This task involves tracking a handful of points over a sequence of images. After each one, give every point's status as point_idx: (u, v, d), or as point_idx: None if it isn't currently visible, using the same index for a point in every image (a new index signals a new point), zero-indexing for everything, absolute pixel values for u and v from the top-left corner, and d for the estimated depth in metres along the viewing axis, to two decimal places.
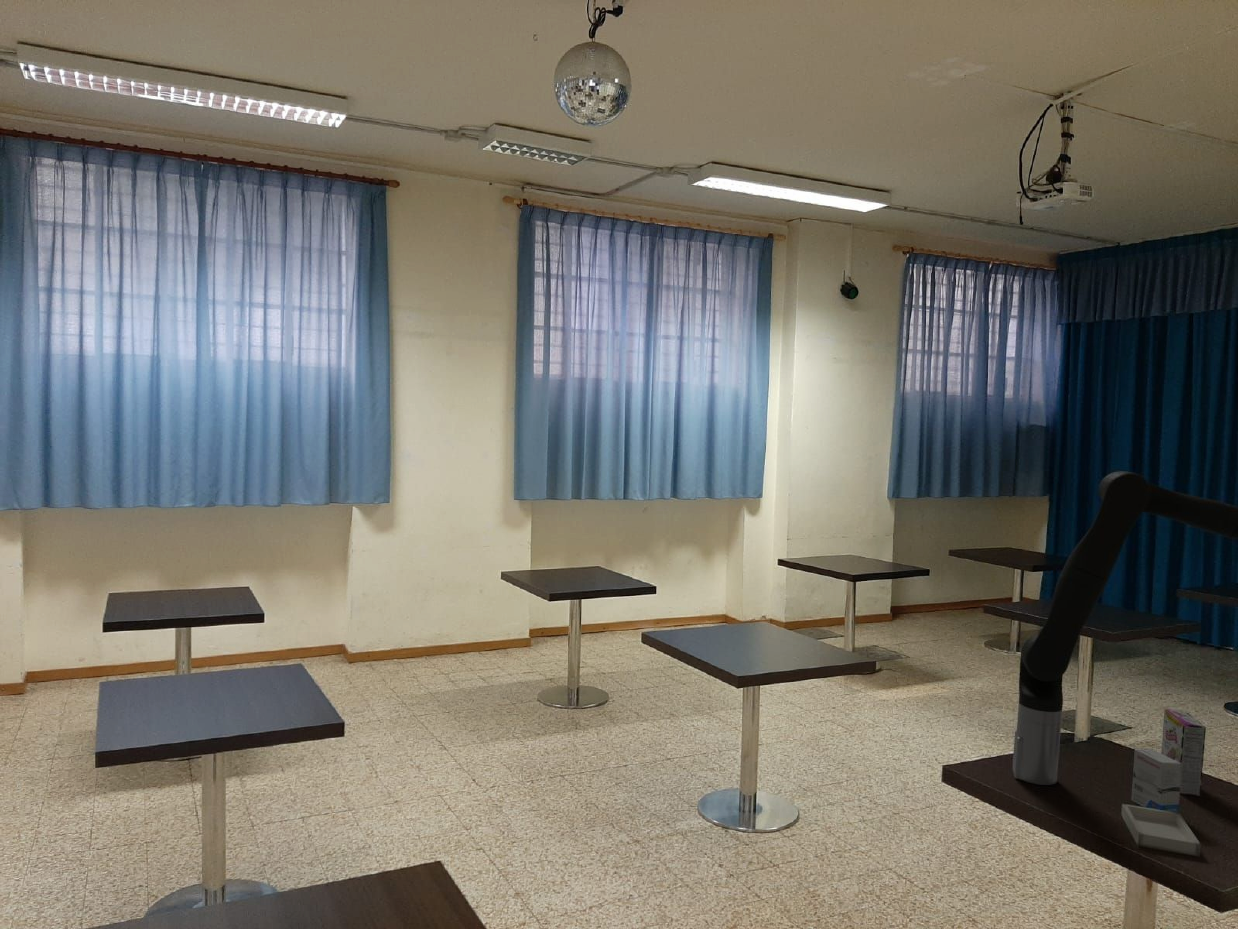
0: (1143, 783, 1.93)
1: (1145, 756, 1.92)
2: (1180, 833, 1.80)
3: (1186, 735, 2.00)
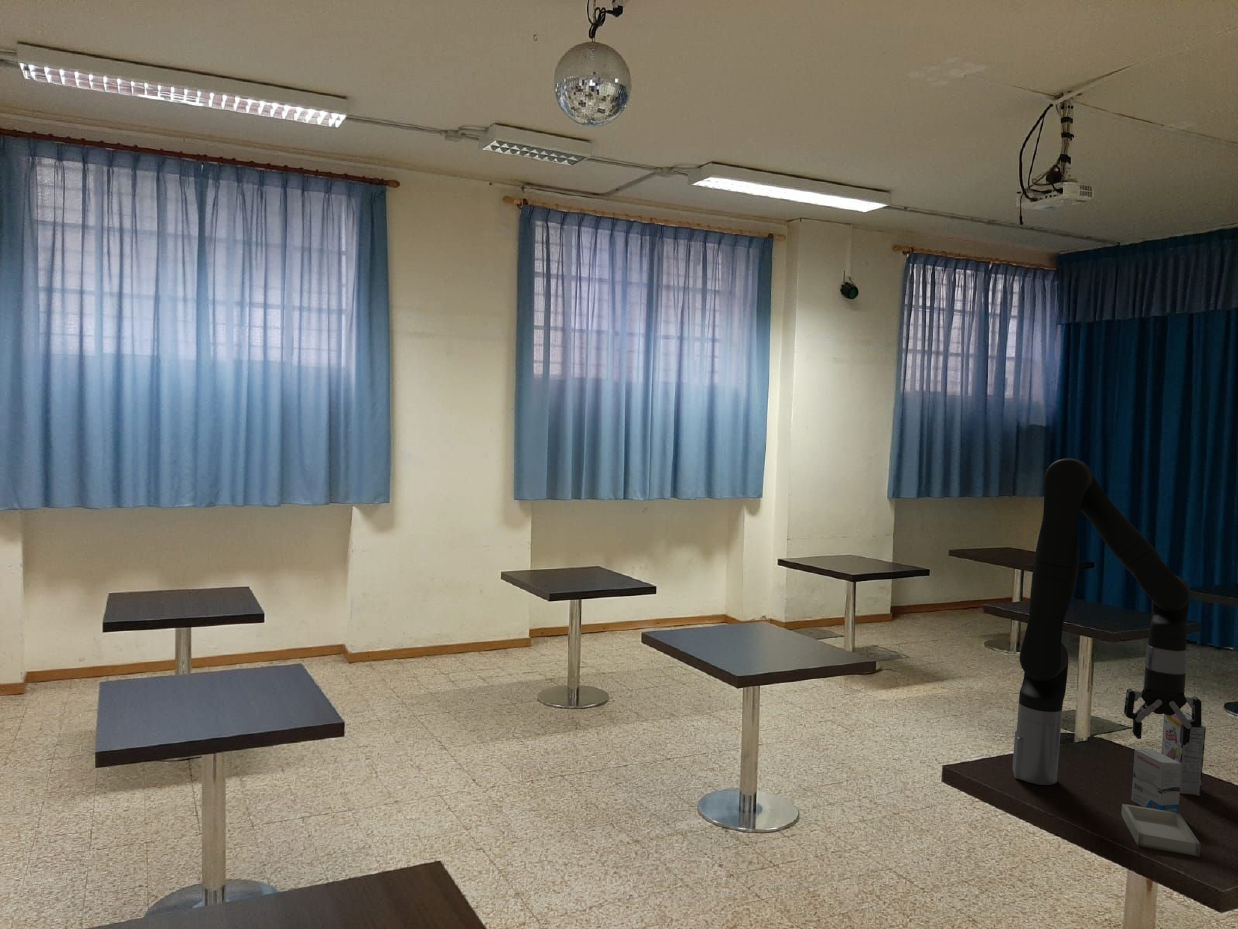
0: (1143, 783, 1.93)
1: (1145, 756, 1.92)
2: (1180, 833, 1.80)
3: None
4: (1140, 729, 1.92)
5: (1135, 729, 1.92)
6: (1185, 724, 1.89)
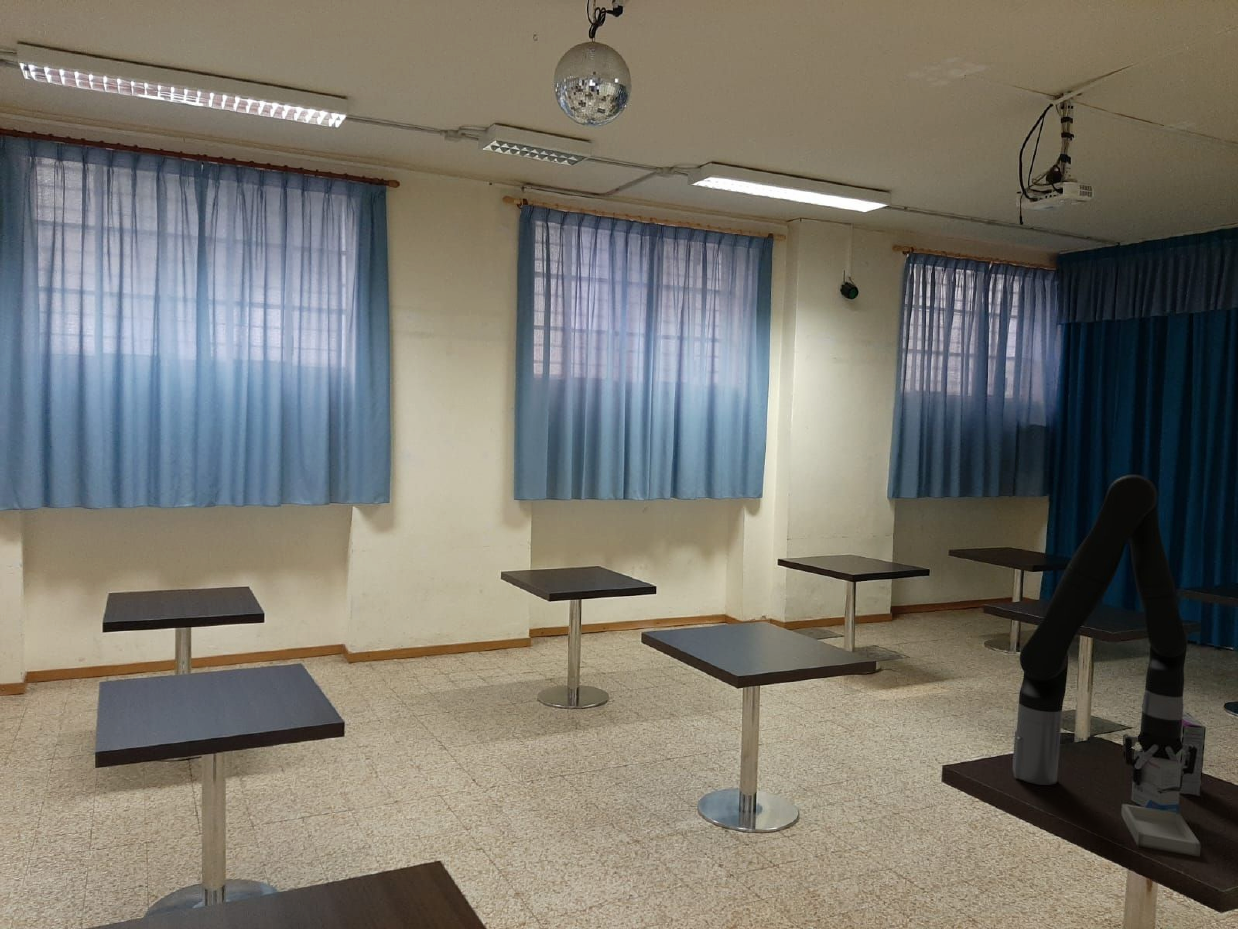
0: (1143, 783, 1.93)
1: None
2: (1180, 833, 1.80)
3: (1186, 735, 2.00)
4: (1139, 776, 1.92)
5: (1134, 775, 1.93)
6: None
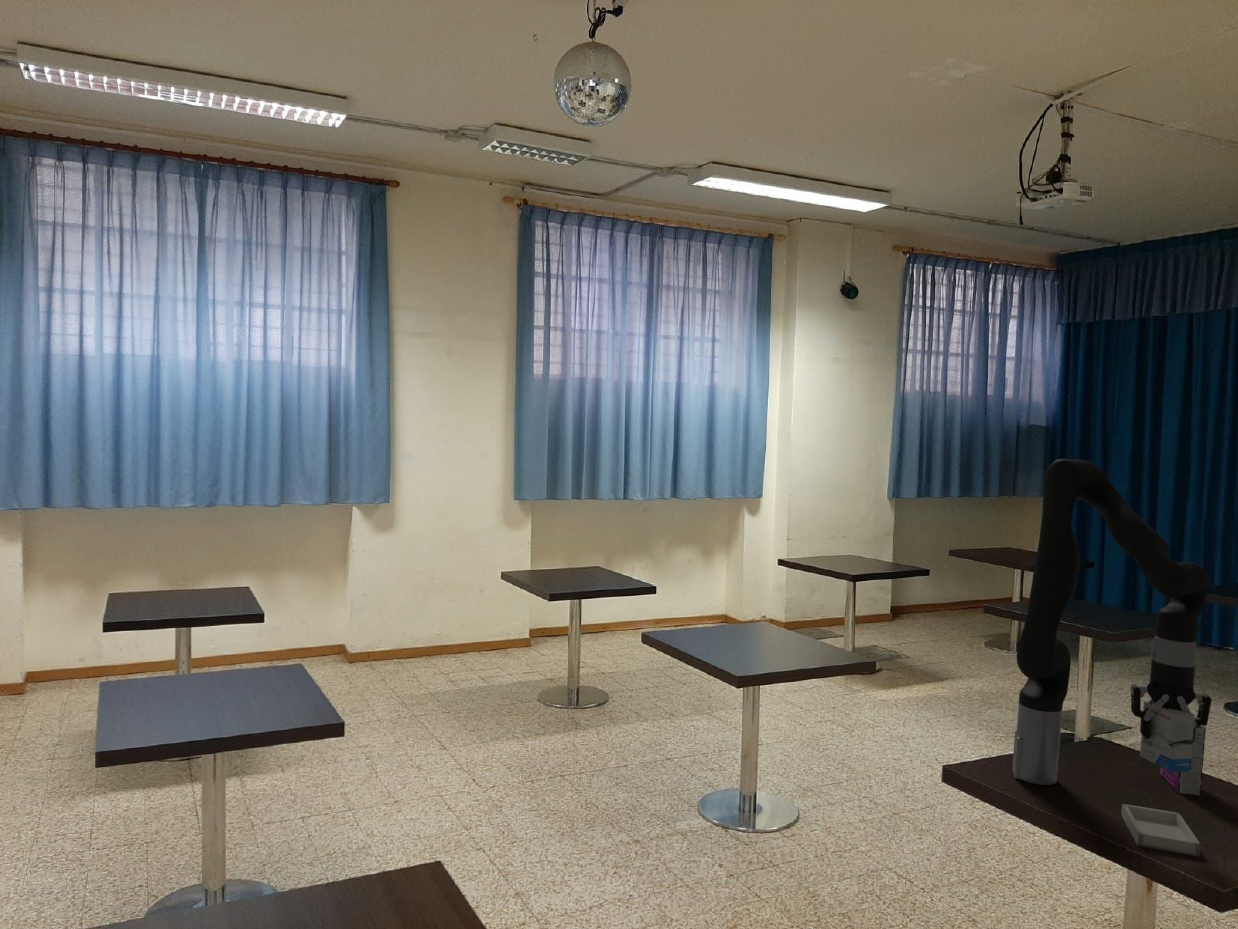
0: (1152, 736, 1.79)
1: None
2: (1180, 833, 1.80)
3: None
4: (1148, 728, 1.79)
5: (1143, 728, 1.79)
6: None
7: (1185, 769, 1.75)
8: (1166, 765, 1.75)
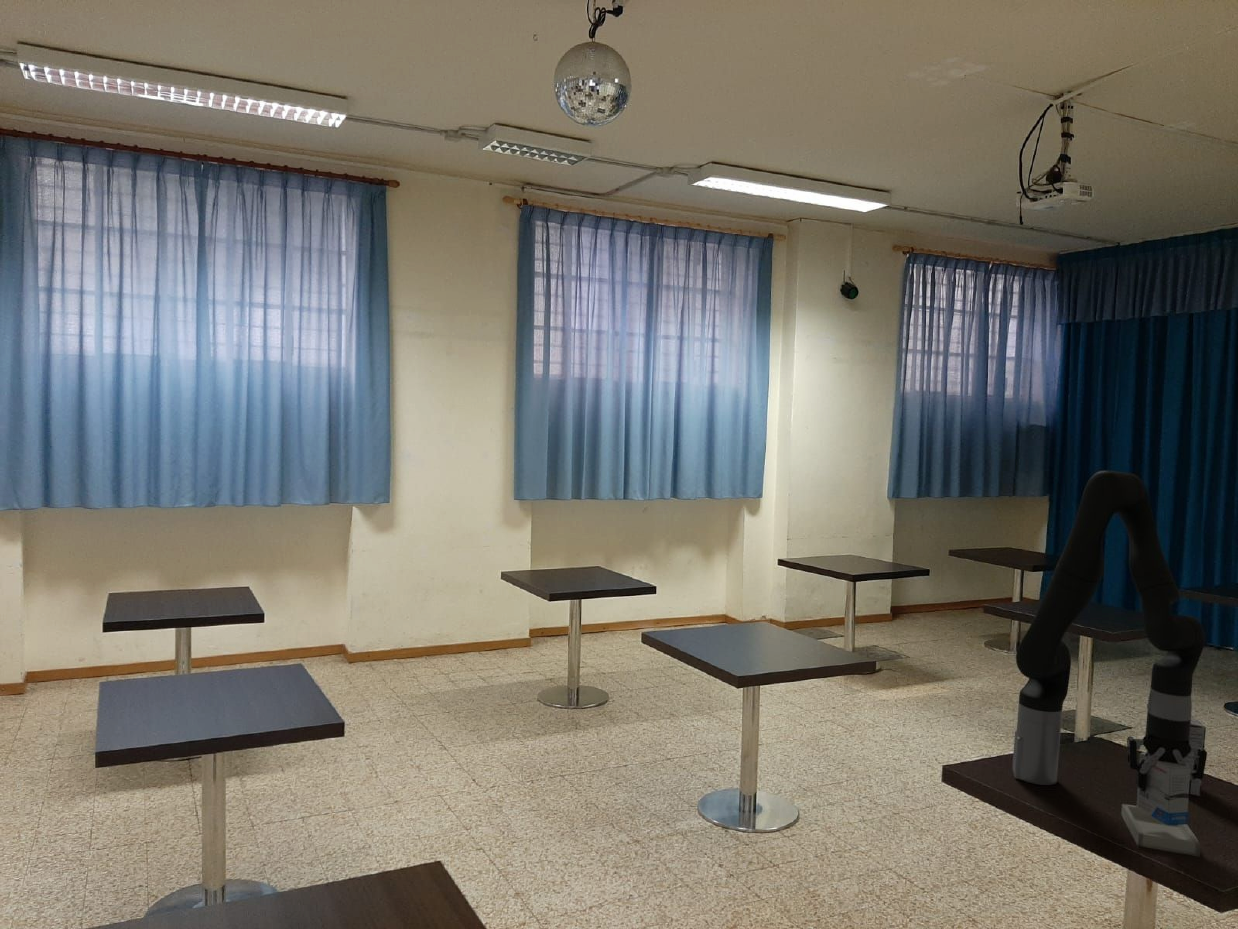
0: (1149, 789, 1.79)
1: None
2: (1180, 833, 1.80)
3: None
4: (1145, 781, 1.79)
5: (1139, 781, 1.80)
6: None
7: (1181, 823, 1.75)
8: (1163, 819, 1.76)
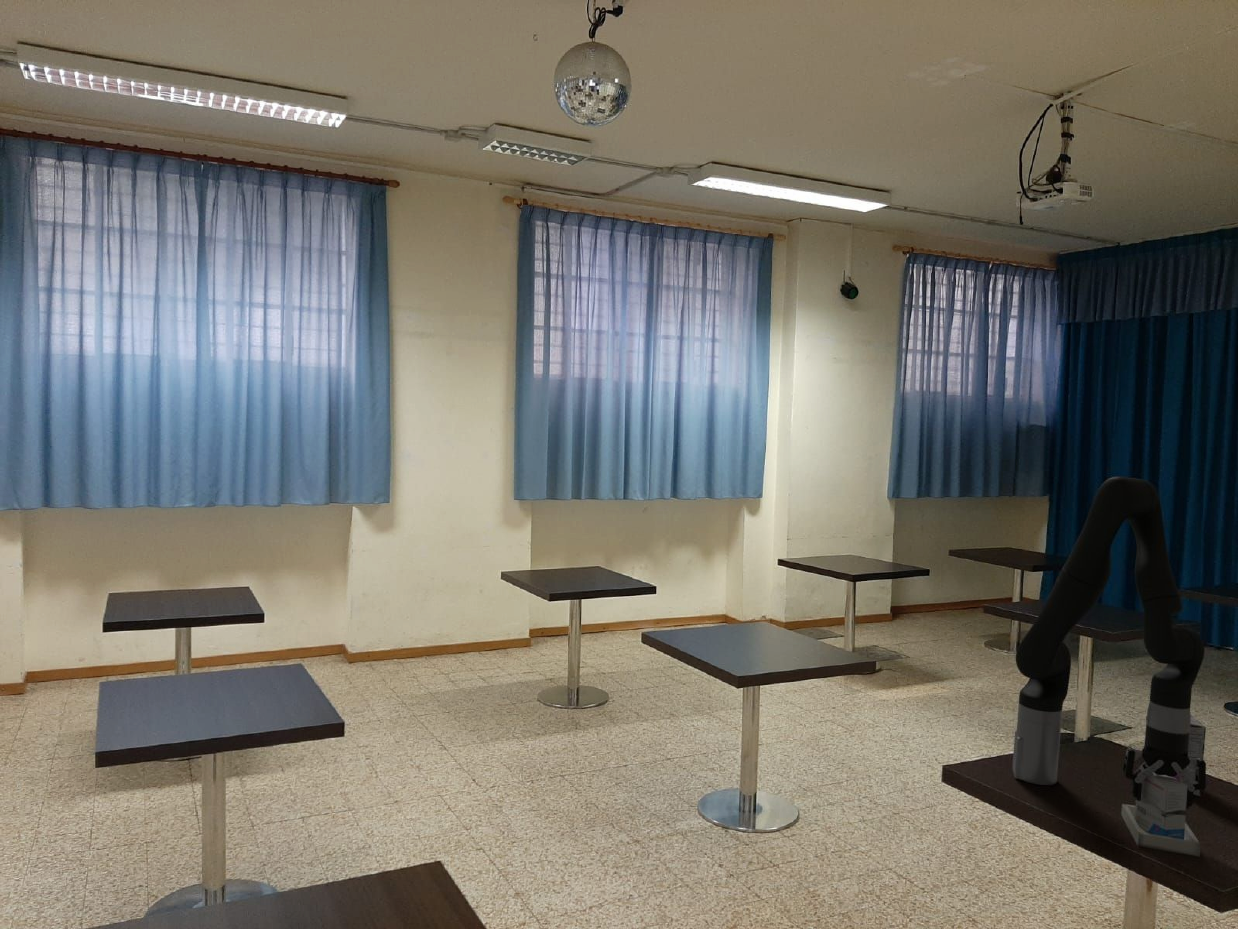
0: (1146, 805, 1.80)
1: None
2: None
3: None
4: (1140, 790, 1.79)
5: (1134, 790, 1.80)
6: (1188, 787, 1.77)
7: None
8: None
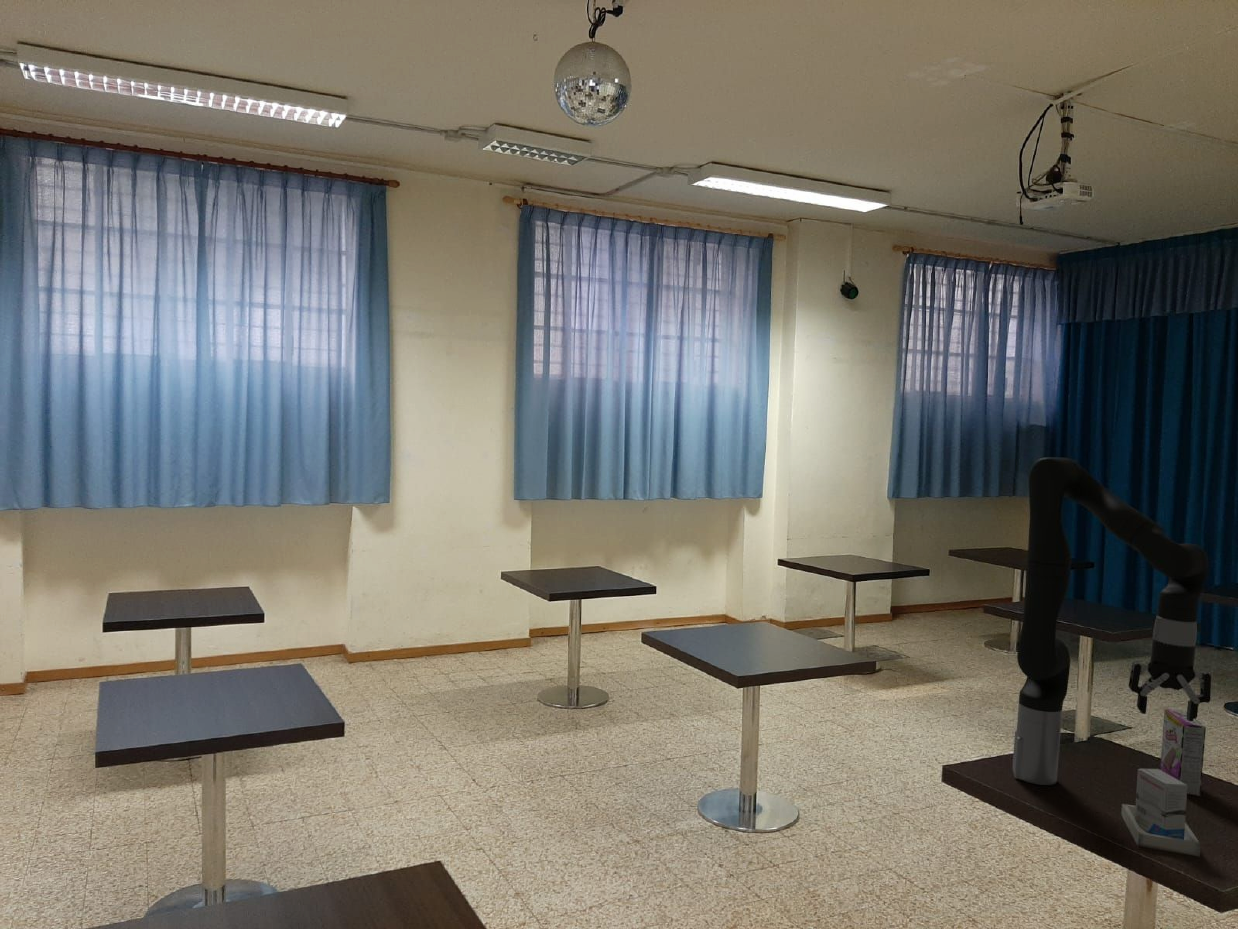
0: (1146, 805, 1.80)
1: (1148, 776, 1.80)
2: None
3: (1186, 735, 2.00)
4: (1145, 703, 1.83)
5: (1140, 703, 1.83)
6: (1193, 699, 1.80)
7: None
8: None
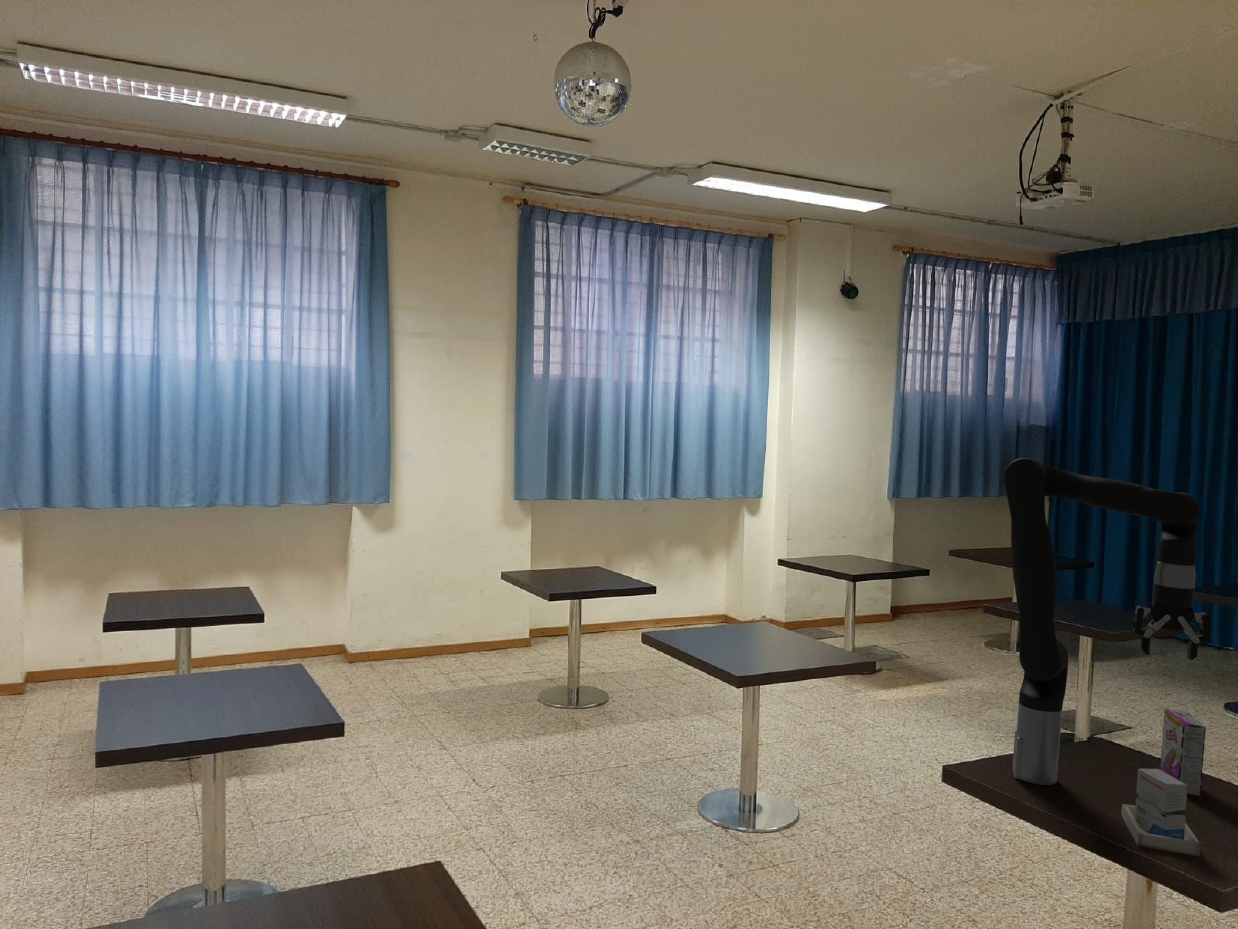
0: (1146, 805, 1.80)
1: (1148, 776, 1.80)
2: None
3: (1186, 735, 2.00)
4: (1148, 645, 1.93)
5: (1143, 645, 1.94)
6: (1193, 639, 1.90)
7: None
8: None
